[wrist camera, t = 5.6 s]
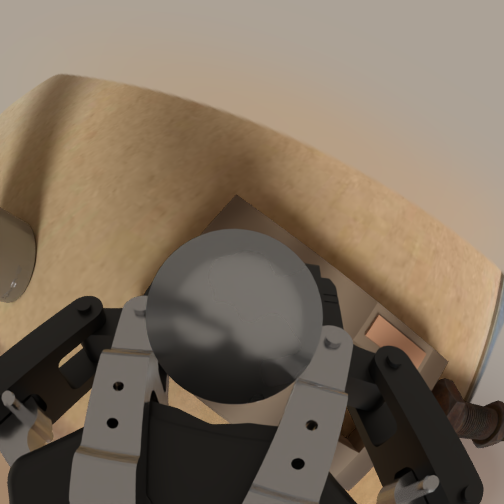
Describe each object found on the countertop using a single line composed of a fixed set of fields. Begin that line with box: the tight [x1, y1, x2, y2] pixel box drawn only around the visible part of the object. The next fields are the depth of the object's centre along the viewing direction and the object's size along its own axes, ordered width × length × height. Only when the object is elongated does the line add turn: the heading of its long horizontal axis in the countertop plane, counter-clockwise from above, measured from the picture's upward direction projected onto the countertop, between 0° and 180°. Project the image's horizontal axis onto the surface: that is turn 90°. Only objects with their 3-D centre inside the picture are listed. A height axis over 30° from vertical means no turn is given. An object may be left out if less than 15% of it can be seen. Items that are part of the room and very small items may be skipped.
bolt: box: [431, 379, 504, 448], centre depth 14 cm, size 6×5×15 cm
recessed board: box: [193, 195, 448, 491], centre depth 17 cm, size 20×12×4 cm, turn 51°
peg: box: [146, 229, 323, 404], centre depth 11 cm, size 4×4×10 cm
